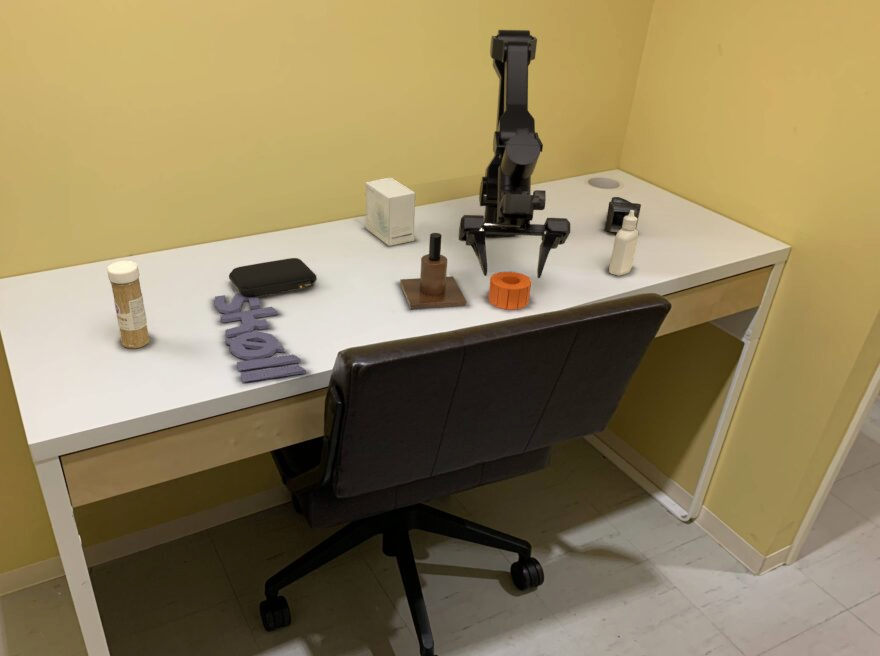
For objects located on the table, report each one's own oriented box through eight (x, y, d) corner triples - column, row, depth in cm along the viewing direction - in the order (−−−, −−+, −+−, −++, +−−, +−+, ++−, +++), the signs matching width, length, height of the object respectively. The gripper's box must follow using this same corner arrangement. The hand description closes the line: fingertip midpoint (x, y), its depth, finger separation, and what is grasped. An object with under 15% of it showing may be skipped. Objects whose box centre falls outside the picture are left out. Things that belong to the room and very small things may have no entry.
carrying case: (244, 305, 133) (322, 290, 139) (243, 289, 132) (322, 275, 137) (226, 281, 141) (301, 268, 147) (225, 266, 140) (300, 253, 145)
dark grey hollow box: (630, 215, 171) (635, 187, 167) (636, 238, 160) (643, 209, 156) (600, 213, 172) (605, 185, 168) (604, 236, 161) (610, 206, 157)
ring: (480, 297, 137) (482, 276, 135) (510, 288, 140) (513, 268, 138) (506, 313, 132) (508, 292, 130) (536, 303, 135) (539, 283, 133)
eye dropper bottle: (639, 273, 146) (652, 213, 139) (614, 277, 144) (626, 216, 138) (625, 264, 149) (638, 205, 143) (600, 268, 148) (612, 208, 141)
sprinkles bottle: (115, 343, 123) (100, 266, 115) (139, 332, 126) (125, 257, 118) (132, 352, 121) (118, 275, 113) (156, 341, 123) (143, 265, 116)
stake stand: (399, 284, 141) (401, 225, 135) (452, 280, 143) (456, 222, 136) (410, 309, 133) (413, 248, 127) (466, 305, 134) (471, 244, 128)
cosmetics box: (364, 229, 163) (364, 180, 157) (390, 224, 166) (391, 176, 160) (387, 246, 155) (388, 197, 150) (415, 241, 158) (417, 191, 152)
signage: (211, 296, 135) (266, 288, 138) (211, 299, 135) (267, 292, 138) (239, 380, 113) (305, 369, 115) (240, 384, 113) (305, 373, 116)
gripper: (464, 169, 128) (461, 257, 125) (577, 172, 127) (577, 262, 124) (459, 198, 139) (456, 280, 136) (563, 201, 138) (563, 284, 135)
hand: (512, 276), depth 132 cm, fingers open, 9 cm apart
